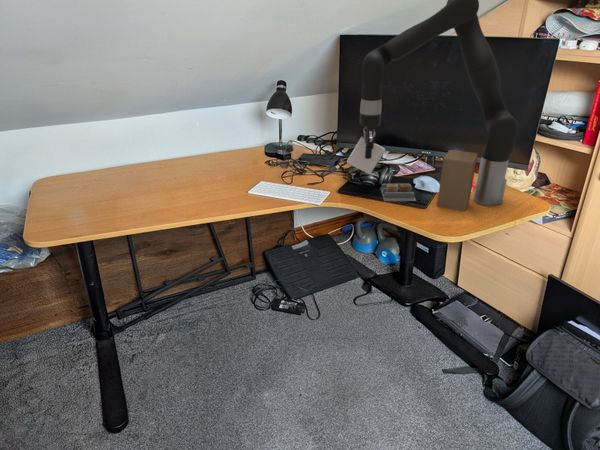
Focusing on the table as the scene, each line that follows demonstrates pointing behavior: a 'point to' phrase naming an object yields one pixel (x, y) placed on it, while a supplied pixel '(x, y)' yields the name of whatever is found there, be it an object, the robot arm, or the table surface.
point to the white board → (359, 158)
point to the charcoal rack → (397, 194)
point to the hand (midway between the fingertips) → (367, 157)
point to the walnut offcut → (405, 188)
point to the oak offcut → (392, 188)
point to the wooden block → (457, 180)
